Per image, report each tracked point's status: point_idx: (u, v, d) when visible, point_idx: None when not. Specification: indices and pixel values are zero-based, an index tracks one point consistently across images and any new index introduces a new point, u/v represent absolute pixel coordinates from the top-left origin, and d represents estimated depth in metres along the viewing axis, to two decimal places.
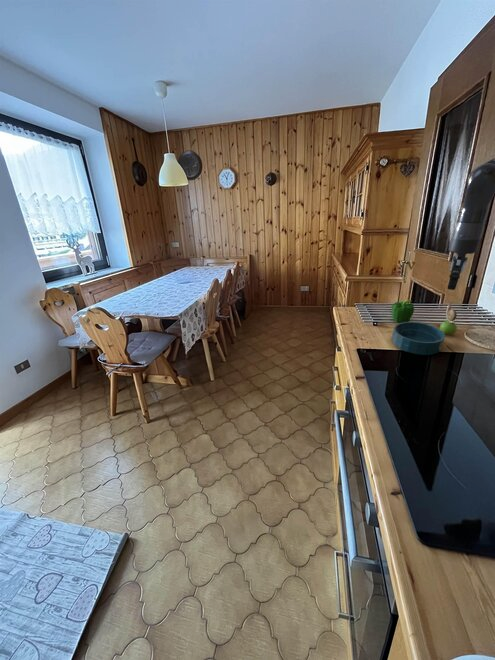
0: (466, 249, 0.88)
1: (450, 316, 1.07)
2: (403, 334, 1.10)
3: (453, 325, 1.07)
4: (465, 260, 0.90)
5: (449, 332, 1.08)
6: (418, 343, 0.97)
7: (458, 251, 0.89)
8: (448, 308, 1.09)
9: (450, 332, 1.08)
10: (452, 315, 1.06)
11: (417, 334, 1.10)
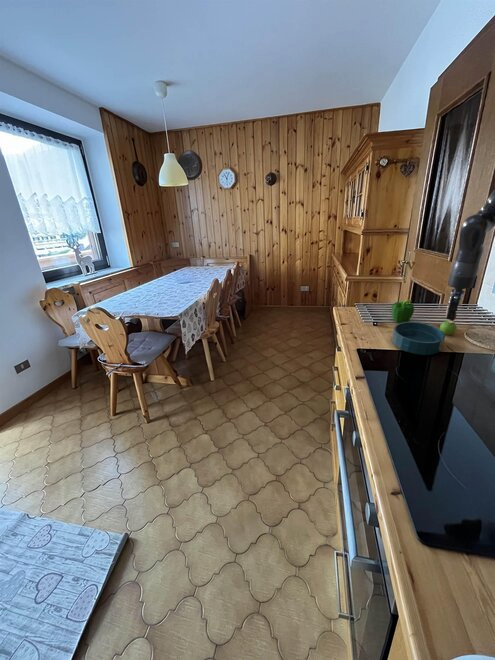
0: (463, 285, 0.99)
1: None
2: (403, 334, 1.10)
3: (453, 325, 1.07)
4: (462, 294, 1.02)
5: (449, 332, 1.08)
6: (418, 343, 0.97)
7: (456, 286, 1.00)
8: None
9: (450, 332, 1.08)
10: None
11: (417, 334, 1.10)
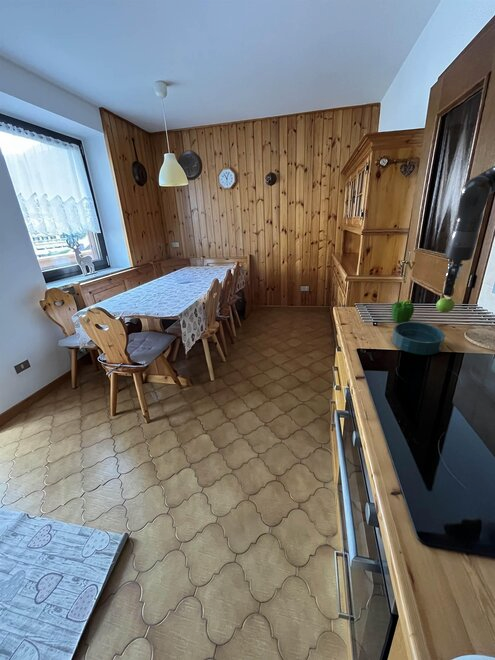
0: (461, 256, 0.92)
1: None
2: (403, 334, 1.10)
3: (451, 302, 1.00)
4: (460, 266, 0.94)
5: (446, 309, 1.01)
6: (418, 343, 0.97)
7: (454, 258, 0.93)
8: None
9: (447, 309, 1.01)
10: None
11: (417, 334, 1.10)
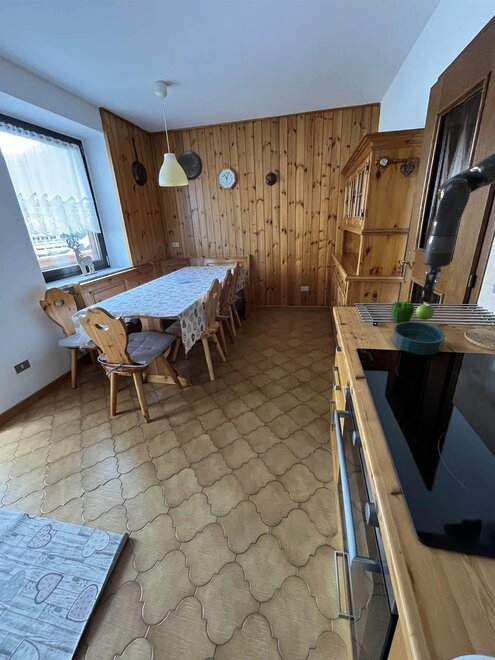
0: (438, 262, 0.88)
1: None
2: (403, 334, 1.10)
3: (430, 309, 0.97)
4: (438, 272, 0.91)
5: (425, 316, 0.97)
6: (418, 343, 0.97)
7: (431, 263, 0.89)
8: None
9: (427, 316, 0.97)
10: None
11: (417, 334, 1.10)
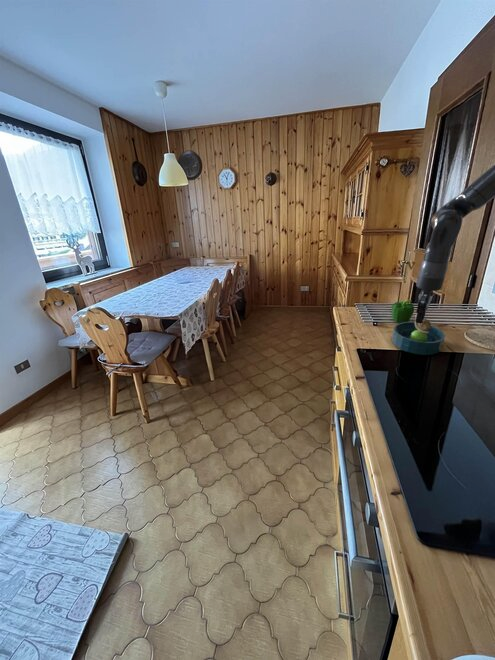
0: (430, 287, 0.92)
1: (424, 327, 1.00)
2: (403, 334, 1.10)
3: (426, 334, 1.01)
4: (431, 296, 0.94)
5: None
6: (418, 343, 0.97)
7: (424, 287, 0.93)
8: None
9: None
10: (427, 326, 0.99)
11: None
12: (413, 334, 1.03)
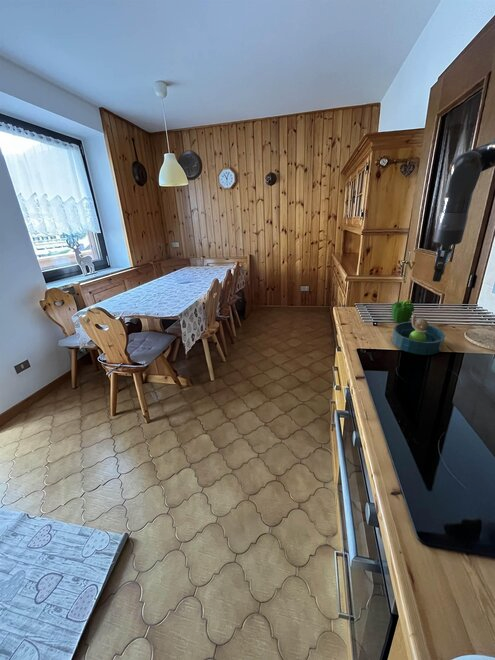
0: (450, 240, 0.86)
1: (421, 326, 1.00)
2: (403, 334, 1.10)
3: (424, 334, 1.02)
4: (450, 251, 0.89)
5: None
6: (418, 343, 0.97)
7: (442, 242, 0.87)
8: (414, 318, 1.02)
9: None
10: (424, 325, 0.99)
11: None
12: (411, 334, 1.03)
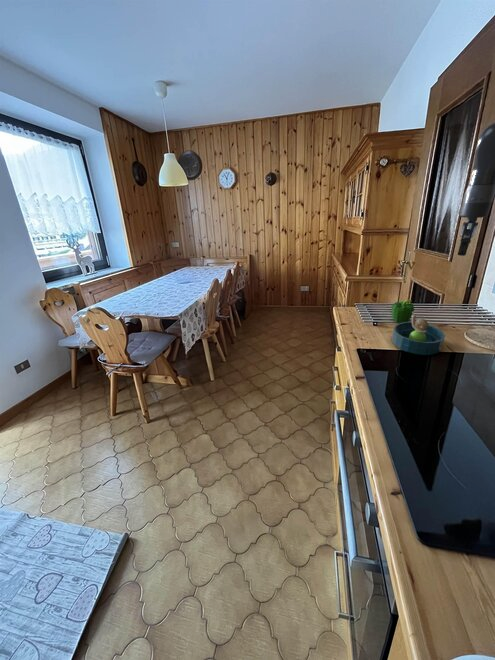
0: (477, 213, 0.87)
1: (421, 326, 1.00)
2: (403, 334, 1.10)
3: (424, 334, 1.02)
4: (476, 224, 0.89)
5: None
6: (418, 343, 0.97)
7: (469, 215, 0.88)
8: (414, 318, 1.02)
9: None
10: (424, 325, 0.99)
11: None
12: (411, 334, 1.03)
